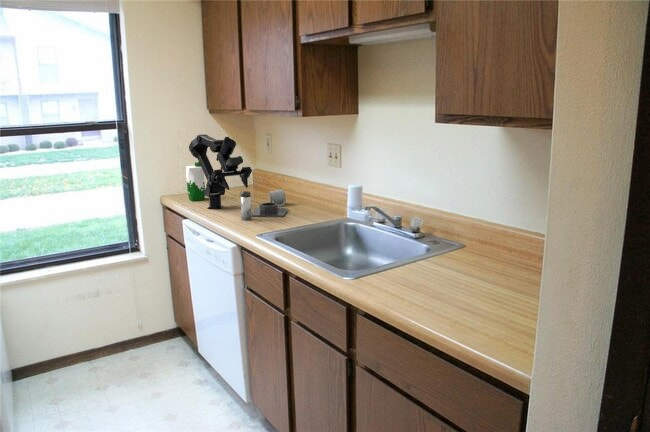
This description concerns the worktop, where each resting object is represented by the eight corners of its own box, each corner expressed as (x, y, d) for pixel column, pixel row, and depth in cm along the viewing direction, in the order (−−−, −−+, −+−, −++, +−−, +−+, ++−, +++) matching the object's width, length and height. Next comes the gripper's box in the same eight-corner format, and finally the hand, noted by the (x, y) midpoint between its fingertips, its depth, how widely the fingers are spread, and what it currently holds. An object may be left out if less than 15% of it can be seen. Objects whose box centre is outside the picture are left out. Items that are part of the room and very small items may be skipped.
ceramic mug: (266, 204, 265) (266, 189, 264) (281, 202, 268) (281, 188, 267) (272, 208, 256) (272, 192, 254) (288, 206, 259) (288, 191, 257)
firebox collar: (255, 209, 252) (255, 200, 251) (288, 209, 251) (288, 201, 250) (248, 216, 236) (248, 207, 235) (283, 217, 235) (283, 207, 234)
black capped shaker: (242, 218, 233) (241, 191, 231) (252, 218, 233) (251, 191, 230) (240, 220, 229) (239, 192, 226) (250, 220, 229) (249, 193, 226)
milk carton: (206, 200, 276) (204, 163, 272) (189, 201, 273) (187, 164, 268) (203, 197, 284) (201, 161, 280) (186, 199, 280) (184, 162, 276)
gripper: (211, 151, 229) (224, 179, 223) (249, 149, 240) (261, 175, 233) (205, 167, 237) (217, 194, 231) (242, 164, 248) (254, 190, 241)
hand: (238, 188), depth 234 cm, fingers open, 9 cm apart
